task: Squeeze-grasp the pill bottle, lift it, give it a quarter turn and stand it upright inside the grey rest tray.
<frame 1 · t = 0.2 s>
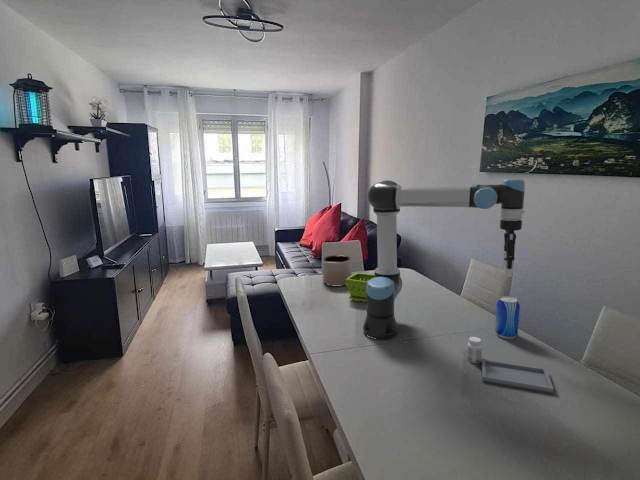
hand: (507, 271, 144), 28 cm above the table, fingers open, 13 cm apart
flower pot: (362, 299, 196), on the table
beer can: (505, 335, 149), on the table
planter: (337, 282, 225), on the table
pill bottle: (473, 360, 131), on the table
rest tray: (514, 377, 120), on the table
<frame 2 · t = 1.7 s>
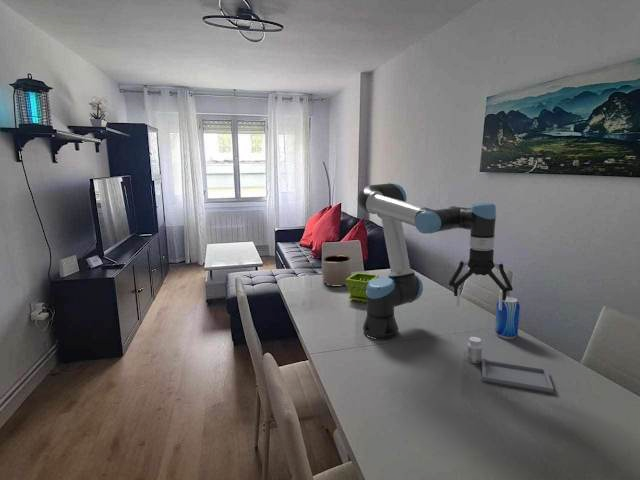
hand: (478, 306, 127), 21 cm above the table, fingers open, 13 cm apart
nothing on the table moved.
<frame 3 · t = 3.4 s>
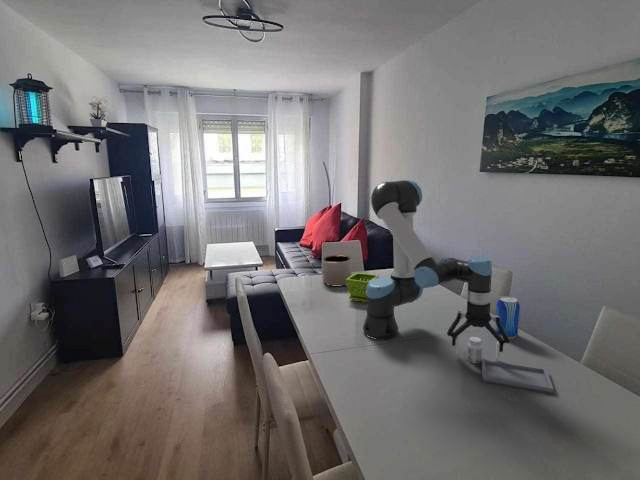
hand: (476, 356, 130), 2 cm above the table, fingers open, 13 cm apart
nothing on the table moved.
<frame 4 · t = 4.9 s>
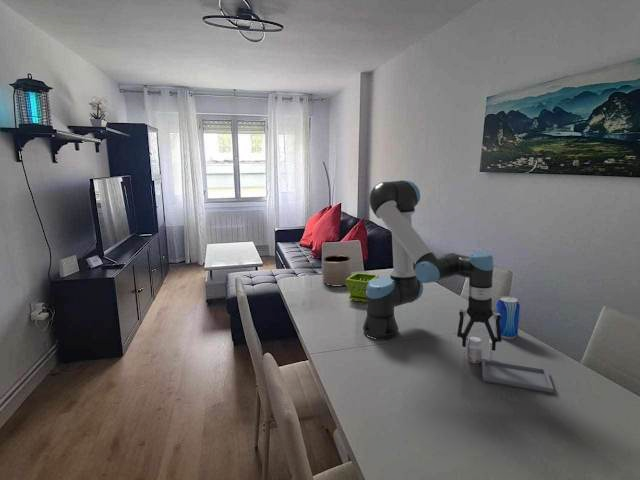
hand: (478, 356, 130), 2 cm above the table, fingers open, 7 cm apart
pill bottle: (474, 360, 131), on the table, touching gripper
everything else where it was.
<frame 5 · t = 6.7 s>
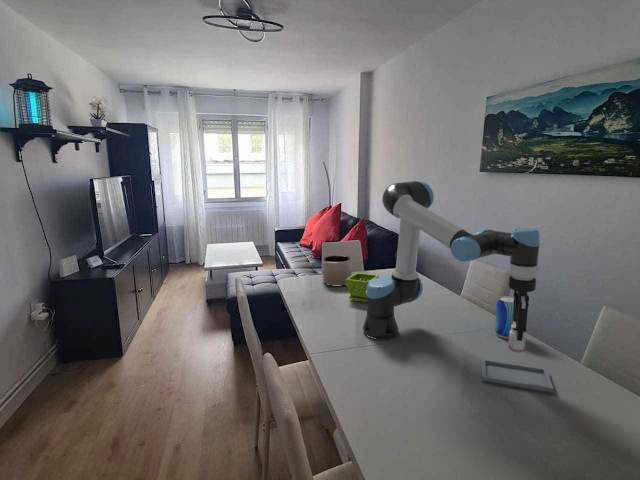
hand: (517, 344, 118), 12 cm above the table, fingers closed on pill bottle, 5 cm apart
pill bottle: (516, 350, 118), point 10 cm above the table, touching gripper
everything else where it was.
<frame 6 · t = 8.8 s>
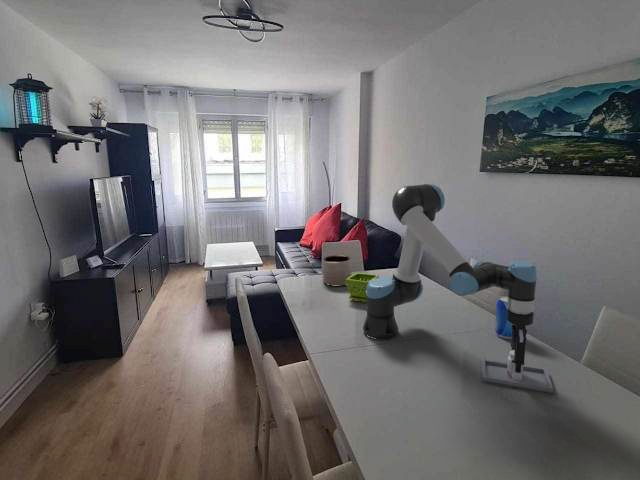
hand: (515, 375, 120), 1 cm above the table, fingers closed on pill bottle, 5 cm apart
pill bottle: (514, 376, 120), resting on rest tray, touching gripper
everything else where it was.
when the fingers open (2 cm above the table, at t = 10.2 s): pill bottle stays where it is, resting on rest tray.
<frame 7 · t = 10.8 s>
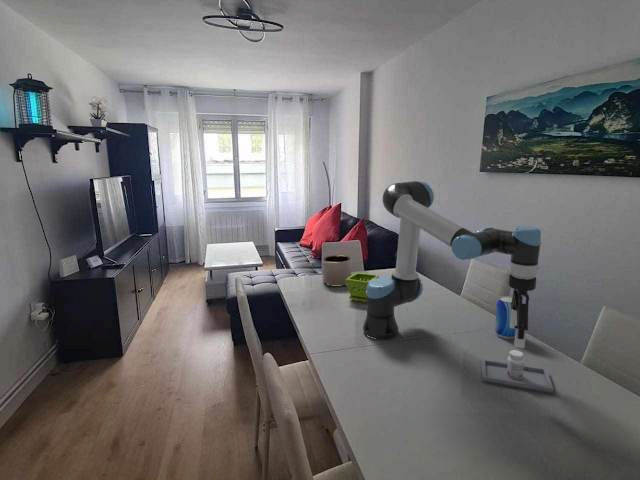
hand: (516, 337, 118), 15 cm above the table, fingers open, 13 cm apart
pill bottle: (514, 376, 120), resting on rest tray
everything else where it was.
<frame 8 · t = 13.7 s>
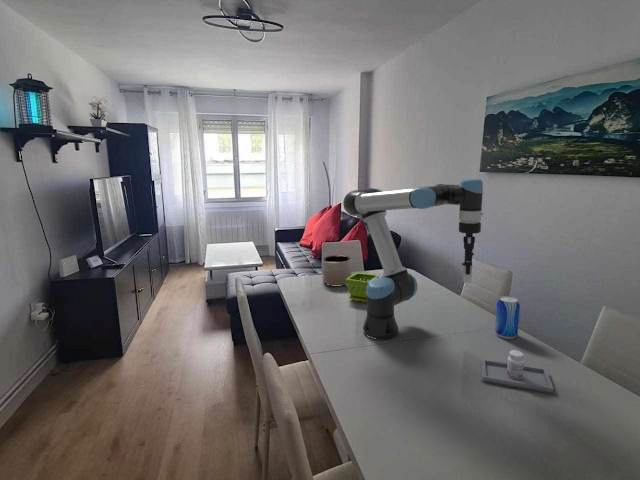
hand: (467, 277, 136), 29 cm above the table, fingers open, 13 cm apart
nothing on the table moved.
at the end: pill bottle inside the target area on the rest tray (0.1 cm from its centre), point 0.4 cm above the rest tray's base; pill bottle tilted 0°; the gripper is holding nothing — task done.
